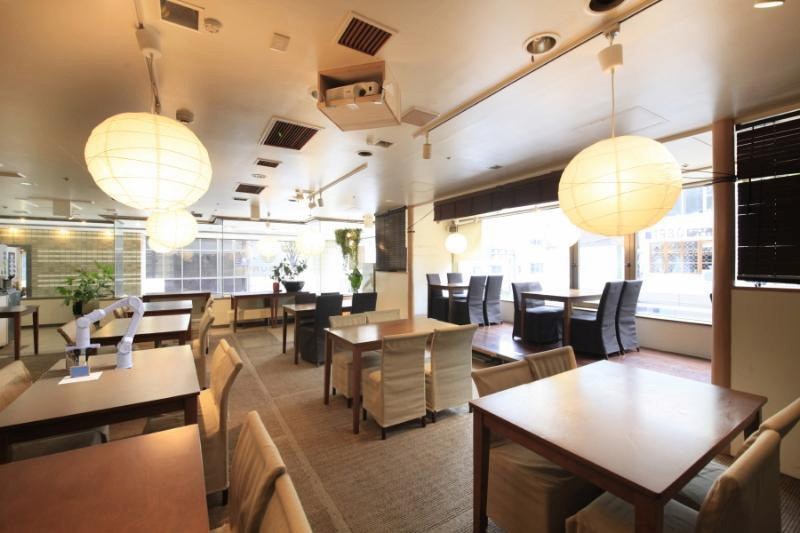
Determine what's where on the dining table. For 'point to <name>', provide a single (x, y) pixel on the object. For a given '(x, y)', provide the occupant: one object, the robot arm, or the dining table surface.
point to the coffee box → (72, 356)
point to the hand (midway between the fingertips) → (83, 361)
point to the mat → (80, 378)
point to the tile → (79, 371)
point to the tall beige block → (82, 359)
